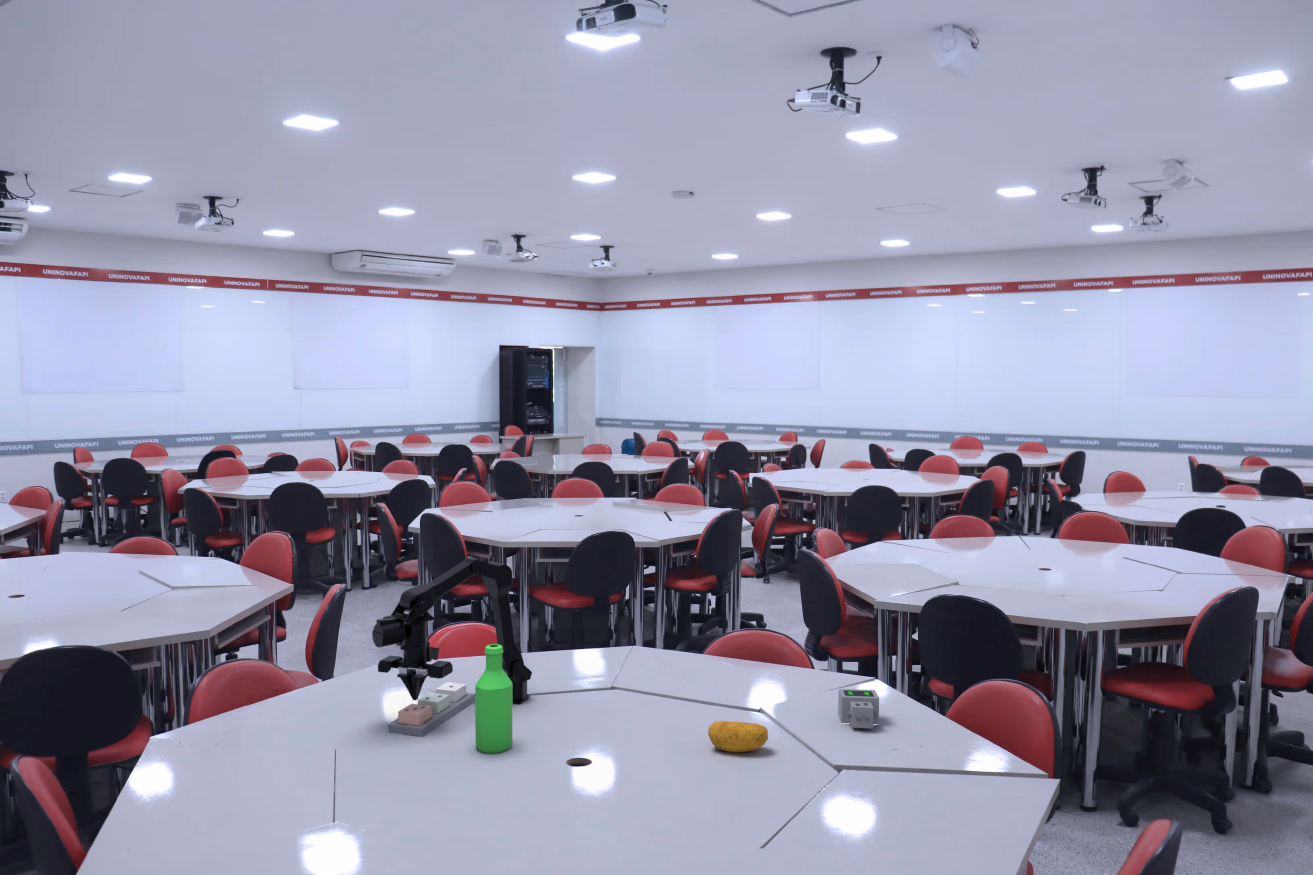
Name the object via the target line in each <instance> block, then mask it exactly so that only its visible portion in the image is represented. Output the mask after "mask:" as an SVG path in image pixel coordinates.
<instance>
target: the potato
mask: <svg viewBox="0 0 1313 875" xmlns="http://www.w3.org/2000/svg"><path fill="white" fill-rule="evenodd" d="M707 731H708V732H707V734H708V737H709V740H710V742H711V744H712V745H713V746H714V747H715V748H717V749H718V750H721V751H724V752H728V753H745V752H751V751H752V752H753V751H756V750H758V749H760V748H762V747H763V746H765V744H766V742H768V740H769V735H768V734H769V733H768V728H767V727H766V726H765V725H761V724H760V723H753V722H744V721H728V720H727V721H726V720H725V721H723V720H720V721H719V720H717V721H715V722H713V723H712V724H710V726H709V727H708V729H707Z"/></svg>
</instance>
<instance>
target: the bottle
mask: <svg viewBox="0 0 1313 875" xmlns="http://www.w3.org/2000/svg"><path fill="white" fill-rule="evenodd" d="M502 653H503V647H502V646H501V645H499V644H497V643H493V644H492V643H491V644H488V645H486V646H485V648H484V654H485V670H483V673H482V674H481V676H480V677H479V679H478V680H477V681H476V684H475V689H474V690H475V691H474V692H475V693H474V694H475V705H474V706H475V710H474V711H475V713H474V714H475V747H476V749H478V750H479V751H481V752H482V753H487V754H497V753H498V754H499V753H502V752H505V751H506V750H508V749H509V748H510V747H511V746H512V744H513V703H512V702H513V683H512V681H511V680H510V679H509V677H508V676H507V674H506V673H505V672H504V670H503V669H502Z"/></svg>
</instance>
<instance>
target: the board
mask: <svg viewBox="0 0 1313 875" xmlns="http://www.w3.org/2000/svg"><path fill="white" fill-rule="evenodd" d="M474 702H475V693H469V692H466V695H465V696H464V697H462V698H461V699H459V700H458V701H456V702H450V706H449V707H447V708H446V709H444V710H442V711H441V712H439V713H438V714H437V713H432V718H430V719H429V720H427V721H426V722H424V723H423V724H421V725H420V726H416V725H408V724H401V723H398V718H396V719H394V720H393V721H391V722H389V723H388V724H387V732H388V733H393V734H398V735H399V734H400V735H405V736H406V735H407V736H415V737H425V736H427V735H428V734H429V733H431V732H432V731H433V730H435V729H436V728H439V726H441V725H443V724H444V723H445V722H447V721H448V720H450V719H451V718H453V717H454V716H456V715H457V714H458V713H460V712H461V711H462V710H464V709H466V708H468V707H469V706H470V705H472V704H473V703H474Z"/></svg>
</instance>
